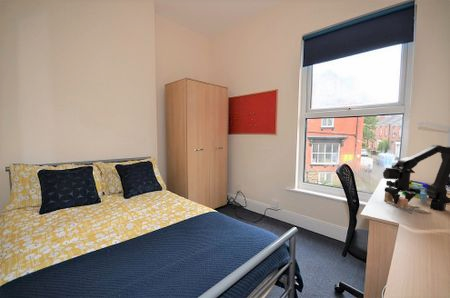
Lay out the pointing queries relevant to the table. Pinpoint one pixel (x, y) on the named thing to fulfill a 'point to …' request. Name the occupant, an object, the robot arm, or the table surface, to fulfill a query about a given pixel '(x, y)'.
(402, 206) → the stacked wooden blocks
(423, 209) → the pair of tan slabs
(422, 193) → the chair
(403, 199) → the cube
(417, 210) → the lane bed
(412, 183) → the puzzle toy
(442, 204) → the robot arm
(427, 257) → the table surface
